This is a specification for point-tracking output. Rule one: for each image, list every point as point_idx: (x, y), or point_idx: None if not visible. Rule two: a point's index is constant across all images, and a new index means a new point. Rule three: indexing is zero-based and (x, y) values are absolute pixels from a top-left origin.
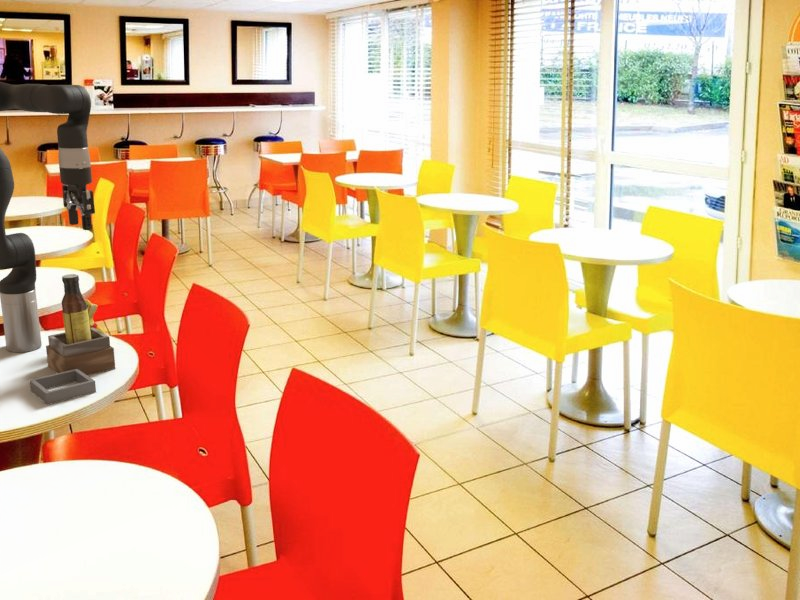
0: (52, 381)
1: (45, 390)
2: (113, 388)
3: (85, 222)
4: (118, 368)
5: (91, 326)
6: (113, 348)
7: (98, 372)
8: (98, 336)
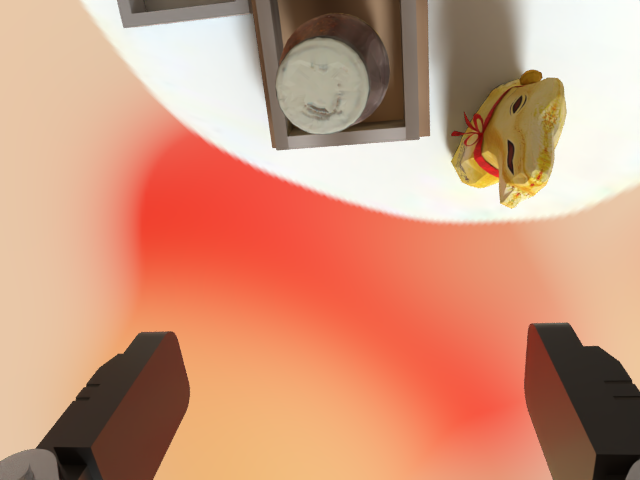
0: None
1: None
2: (145, 76)
3: (82, 401)
4: None
5: (480, 151)
6: (272, 147)
7: None
8: None
